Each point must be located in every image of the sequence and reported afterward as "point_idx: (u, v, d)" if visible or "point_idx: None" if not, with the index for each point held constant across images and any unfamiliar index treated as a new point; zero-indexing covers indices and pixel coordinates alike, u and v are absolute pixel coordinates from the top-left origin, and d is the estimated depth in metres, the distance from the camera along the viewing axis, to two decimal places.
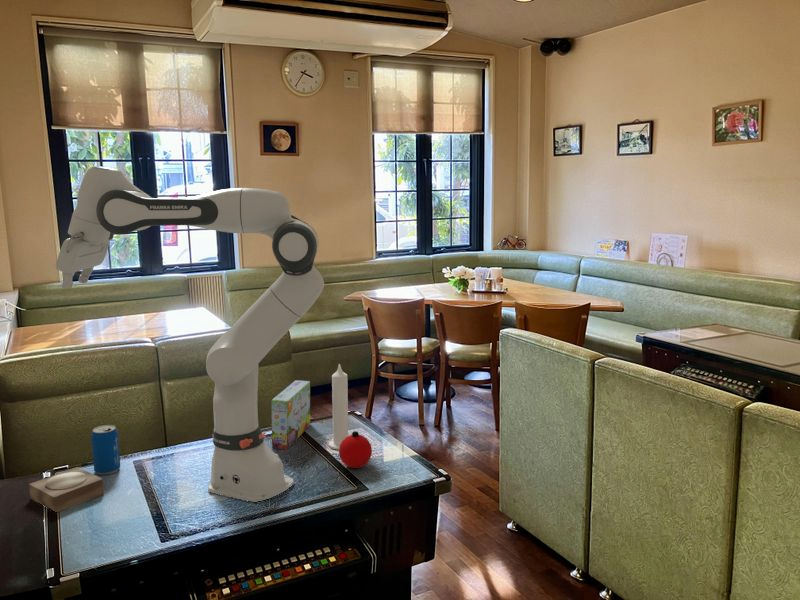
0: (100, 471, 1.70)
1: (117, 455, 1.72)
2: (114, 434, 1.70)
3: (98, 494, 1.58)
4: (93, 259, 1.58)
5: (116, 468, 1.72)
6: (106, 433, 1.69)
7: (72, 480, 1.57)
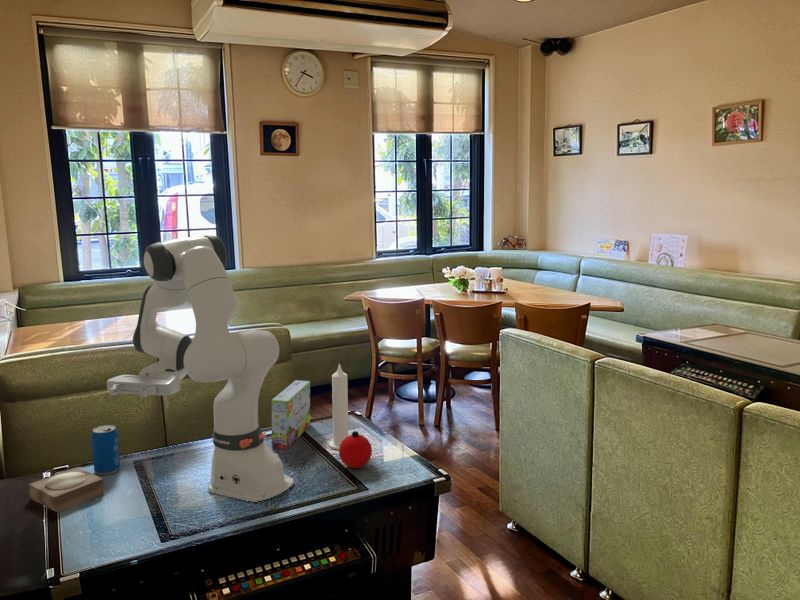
0: (100, 471, 1.70)
1: (117, 455, 1.72)
2: (114, 434, 1.70)
3: (98, 494, 1.58)
4: (149, 380, 1.88)
5: (116, 468, 1.72)
6: (106, 433, 1.69)
7: (72, 480, 1.57)
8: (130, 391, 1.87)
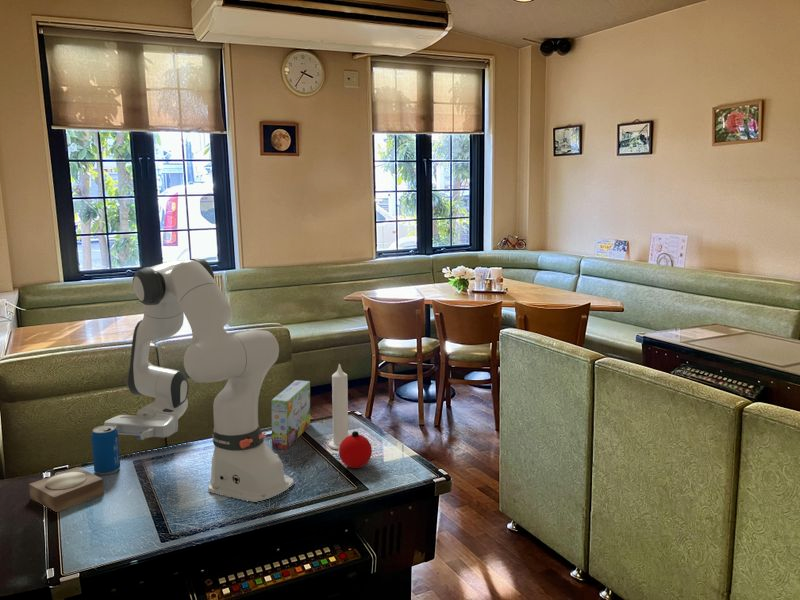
0: (100, 471, 1.70)
1: (117, 455, 1.72)
2: (114, 434, 1.70)
3: (98, 494, 1.58)
4: (146, 422, 1.86)
5: (116, 468, 1.72)
6: (106, 433, 1.69)
7: (72, 480, 1.57)
8: (127, 433, 1.86)
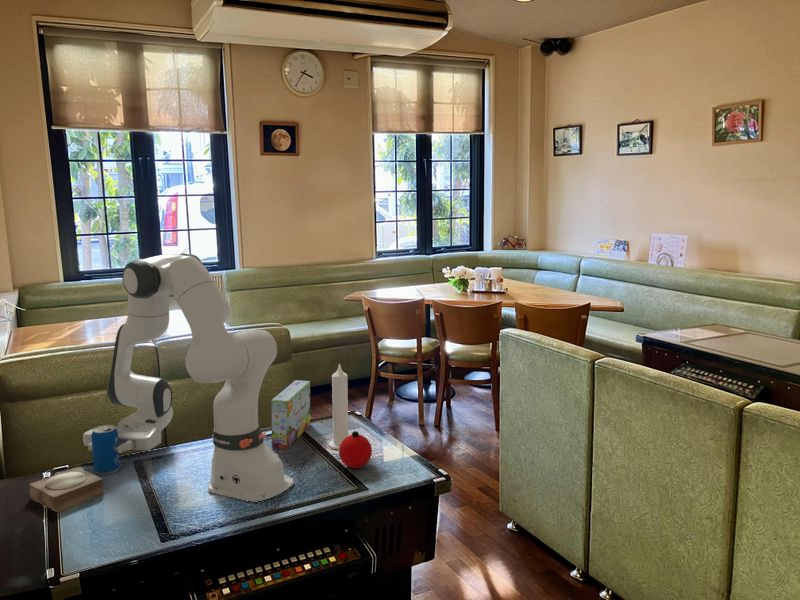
0: (100, 471, 1.69)
1: (117, 455, 1.72)
2: (114, 434, 1.70)
3: (98, 494, 1.58)
4: (128, 433, 1.77)
5: (116, 468, 1.72)
6: (106, 433, 1.69)
7: (72, 480, 1.57)
8: None
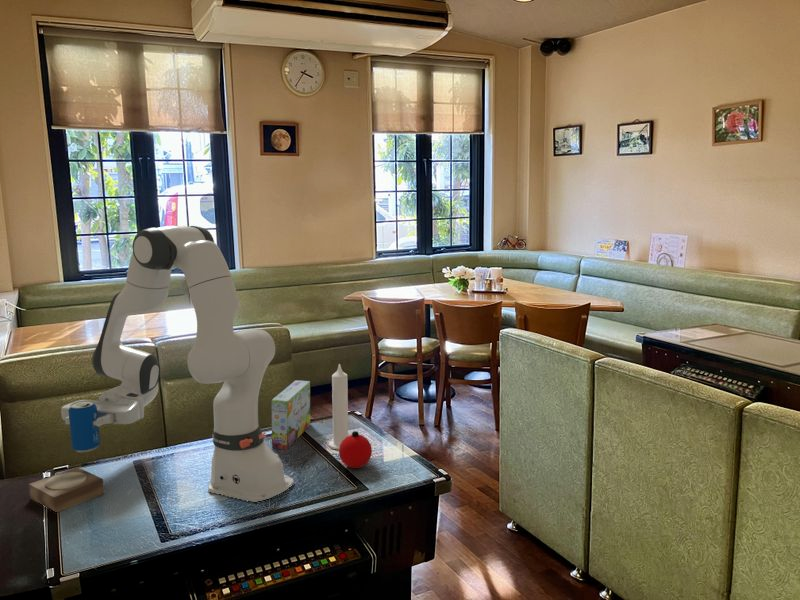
0: (78, 448, 1.61)
1: (96, 432, 1.63)
2: (93, 409, 1.62)
3: (98, 494, 1.58)
4: (108, 407, 1.68)
5: (95, 445, 1.63)
6: (84, 408, 1.60)
7: (72, 480, 1.57)
8: None
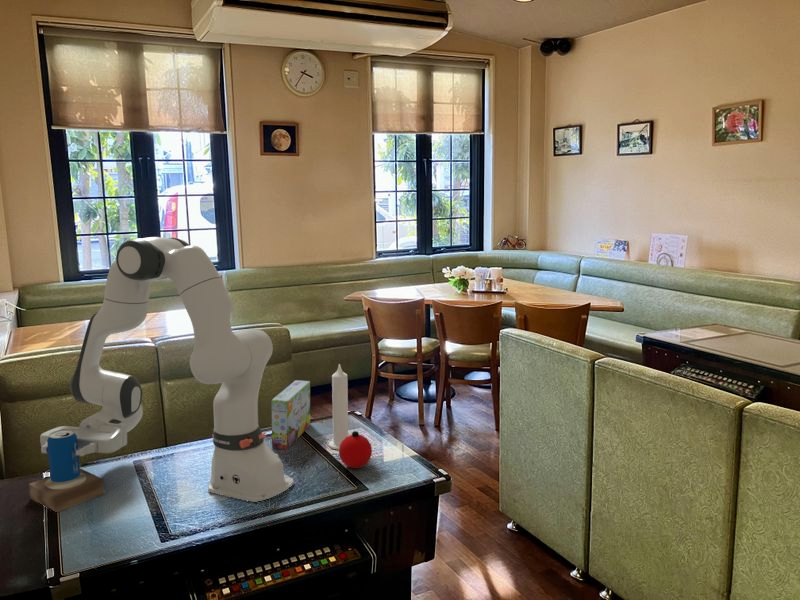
0: (57, 480, 1.54)
1: (76, 462, 1.57)
2: (73, 439, 1.55)
3: (98, 494, 1.58)
4: (89, 435, 1.61)
5: (75, 477, 1.56)
6: (63, 438, 1.53)
7: None
8: None
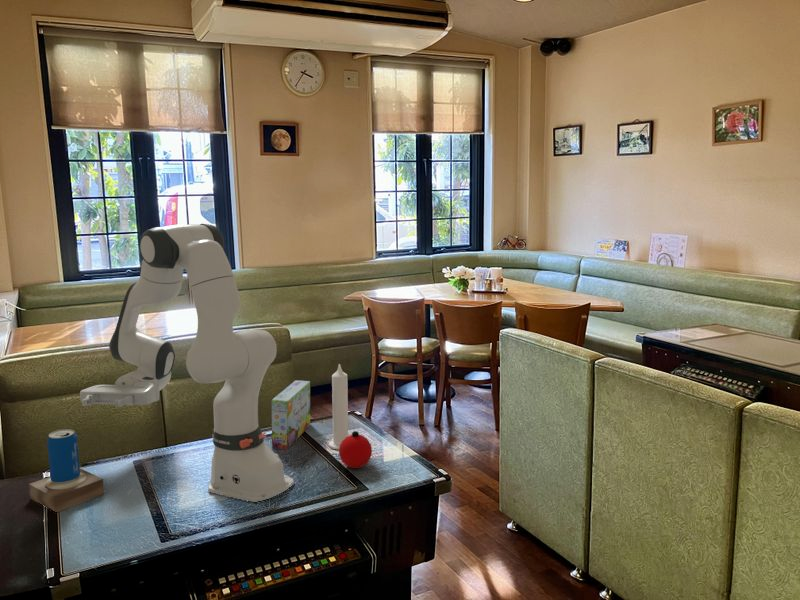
0: (57, 480, 1.54)
1: (76, 462, 1.57)
2: (73, 439, 1.55)
3: (98, 494, 1.58)
4: (125, 389, 1.75)
5: (75, 477, 1.56)
6: (63, 438, 1.53)
7: None
8: (105, 402, 1.74)
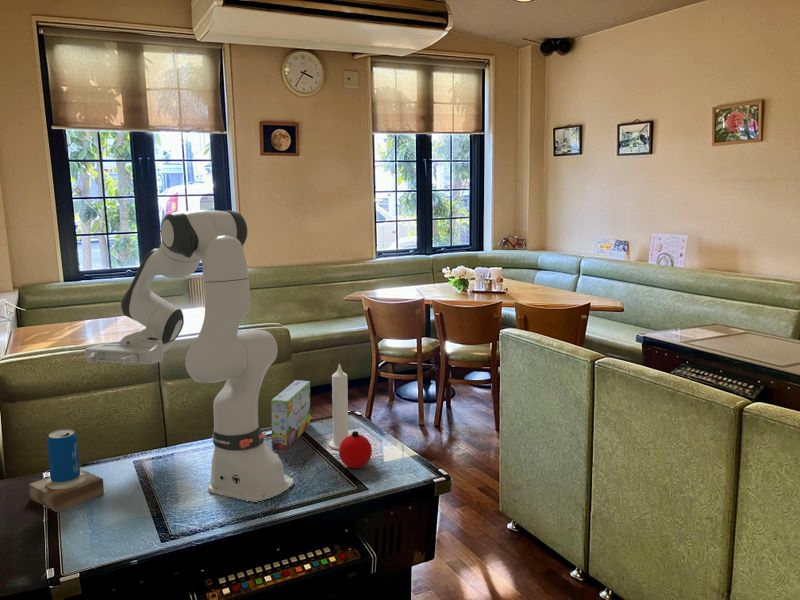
0: (57, 480, 1.54)
1: (76, 462, 1.57)
2: (73, 439, 1.55)
3: (98, 494, 1.58)
4: (130, 348, 1.76)
5: (75, 477, 1.56)
6: (63, 438, 1.53)
7: None
8: (109, 360, 1.75)
